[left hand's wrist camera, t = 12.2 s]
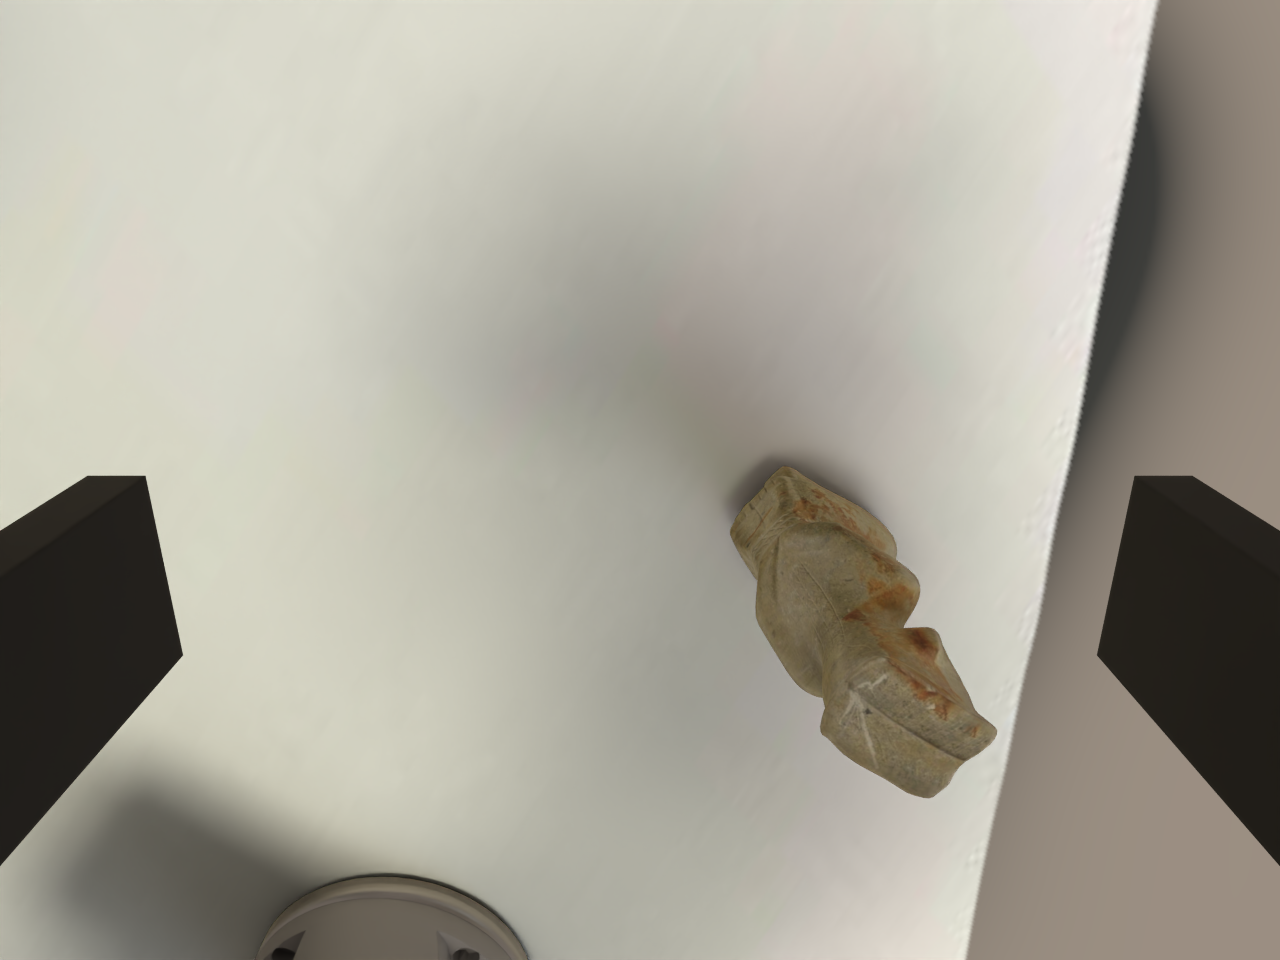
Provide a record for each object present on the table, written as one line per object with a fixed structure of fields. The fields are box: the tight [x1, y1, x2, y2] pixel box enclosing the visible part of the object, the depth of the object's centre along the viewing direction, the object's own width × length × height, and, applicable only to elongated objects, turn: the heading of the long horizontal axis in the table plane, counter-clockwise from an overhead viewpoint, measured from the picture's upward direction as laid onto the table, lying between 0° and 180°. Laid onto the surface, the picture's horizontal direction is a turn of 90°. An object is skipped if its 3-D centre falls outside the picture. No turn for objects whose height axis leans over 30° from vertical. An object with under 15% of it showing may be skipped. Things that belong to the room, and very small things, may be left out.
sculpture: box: [730, 466, 997, 798], centre depth 34 cm, size 6×7×15 cm
